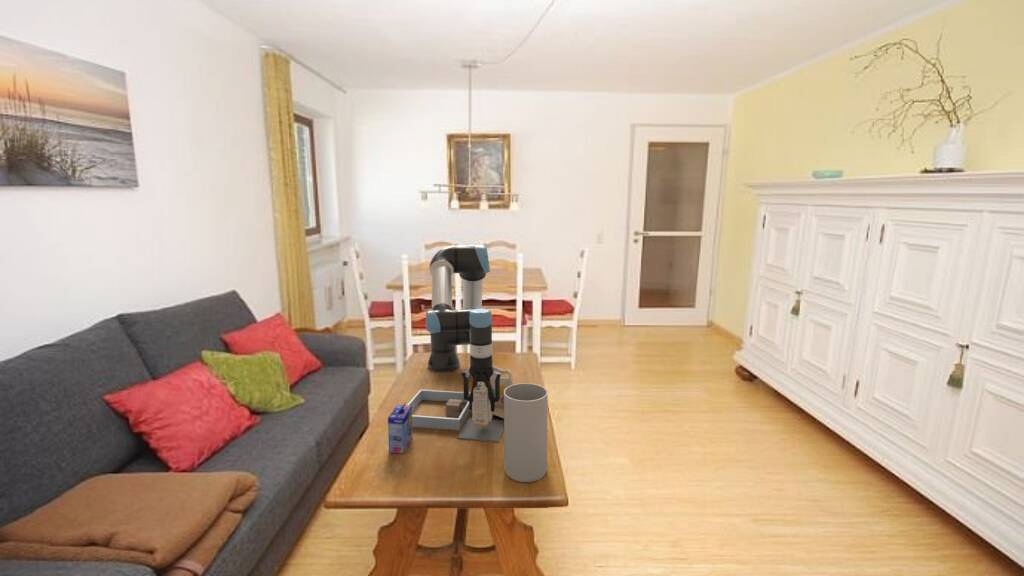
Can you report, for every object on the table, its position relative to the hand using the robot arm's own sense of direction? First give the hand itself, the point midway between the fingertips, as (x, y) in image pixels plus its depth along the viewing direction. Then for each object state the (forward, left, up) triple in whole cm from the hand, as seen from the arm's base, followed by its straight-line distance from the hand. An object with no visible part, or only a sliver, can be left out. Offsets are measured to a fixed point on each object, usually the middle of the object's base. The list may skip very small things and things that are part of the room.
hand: (482, 418), depth 160 cm
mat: (0, 0, -4) cm, 4 cm away
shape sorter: (-13, +4, -4) cm, 14 cm away
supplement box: (0, 0, -1) cm, 1 cm away
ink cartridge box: (+14, -24, -5) cm, 28 cm away
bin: (-10, -19, -4) cm, 22 cm away
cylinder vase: (+22, +18, -5) cm, 29 cm away
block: (-10, -13, -4) cm, 17 cm away
